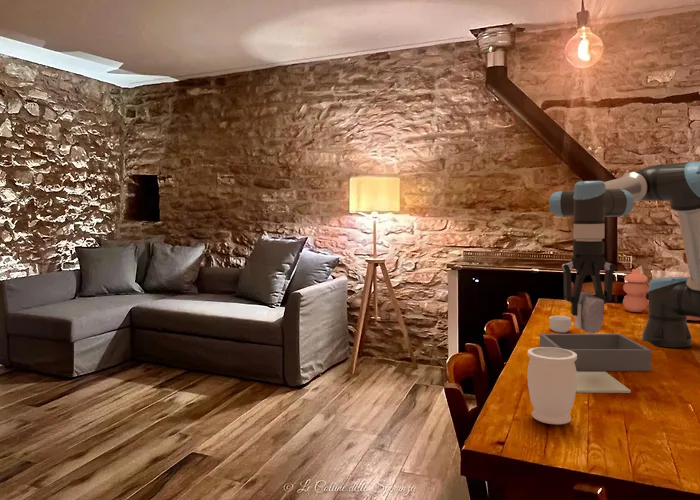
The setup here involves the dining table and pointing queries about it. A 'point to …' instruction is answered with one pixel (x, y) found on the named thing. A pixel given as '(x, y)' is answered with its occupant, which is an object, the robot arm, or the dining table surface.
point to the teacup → (560, 323)
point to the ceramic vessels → (638, 293)
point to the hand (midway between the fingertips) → (587, 327)
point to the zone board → (598, 383)
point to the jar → (552, 383)
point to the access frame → (601, 351)
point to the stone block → (591, 312)
